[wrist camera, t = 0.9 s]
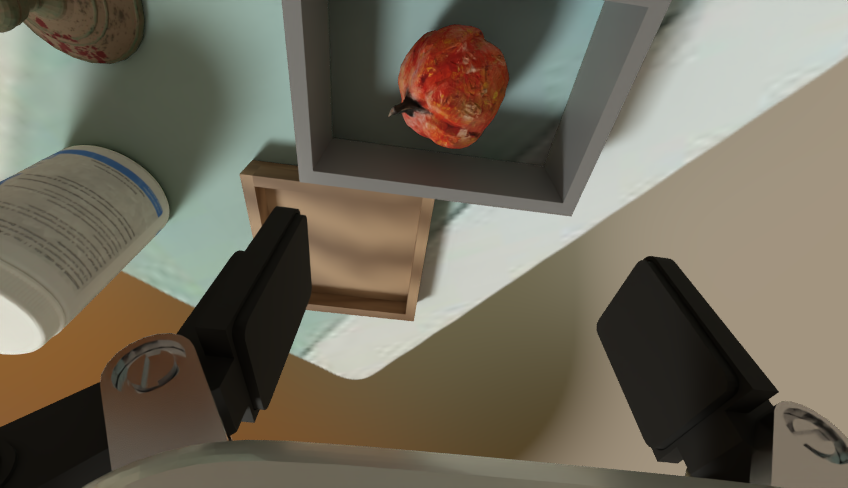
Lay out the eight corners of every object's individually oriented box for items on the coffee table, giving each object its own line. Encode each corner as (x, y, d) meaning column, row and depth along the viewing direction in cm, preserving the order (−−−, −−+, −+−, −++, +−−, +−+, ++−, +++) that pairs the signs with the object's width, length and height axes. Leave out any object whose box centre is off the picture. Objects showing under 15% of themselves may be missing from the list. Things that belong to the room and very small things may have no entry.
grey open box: (309, -72, 22) (273, -81, 17) (628, -19, 23) (677, -13, 18) (320, 147, 30) (299, 182, 25) (551, 178, 31) (571, 216, 27)
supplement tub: (50, 123, 30) (-197, 227, 18) (174, 166, 32) (23, 283, 20) (71, 213, 35) (-107, 335, 24) (175, 244, 37) (58, 371, 26)
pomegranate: (486, 6, 26) (361, 11, 21) (566, 39, 22) (435, 53, 17) (465, 107, 31) (361, 129, 26) (527, 148, 27) (419, 182, 22)
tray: (252, 160, 31) (239, 174, 29) (434, 183, 32) (434, 198, 30) (276, 288, 41) (267, 305, 39) (414, 303, 42) (413, 321, 40)
